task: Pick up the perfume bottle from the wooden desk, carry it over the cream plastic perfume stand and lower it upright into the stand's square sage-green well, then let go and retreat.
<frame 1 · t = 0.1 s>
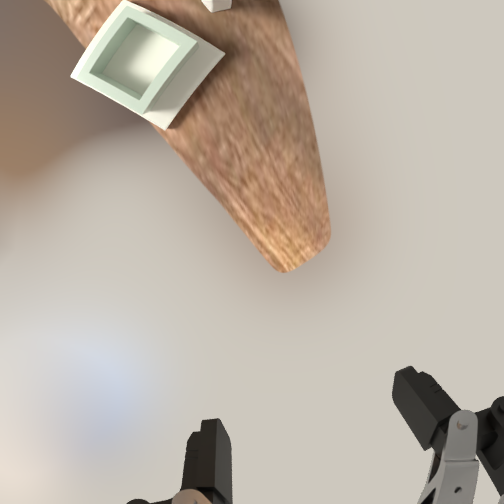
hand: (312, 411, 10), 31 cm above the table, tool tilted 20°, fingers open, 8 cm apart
perfume stand: (144, 61, 25), on the table
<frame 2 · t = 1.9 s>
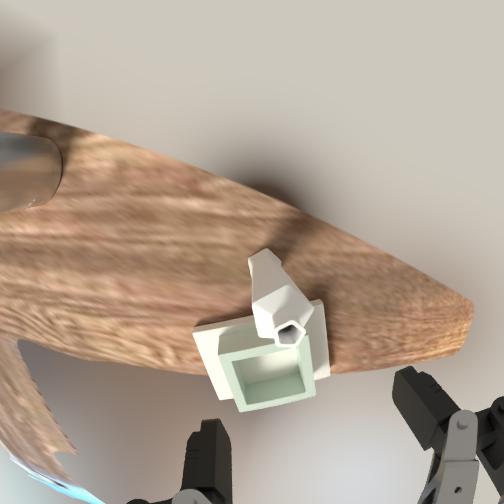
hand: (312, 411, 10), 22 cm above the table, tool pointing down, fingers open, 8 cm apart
perfume bottle: (262, 264, 31), on the table
perfume stand: (266, 352, 34), on the table
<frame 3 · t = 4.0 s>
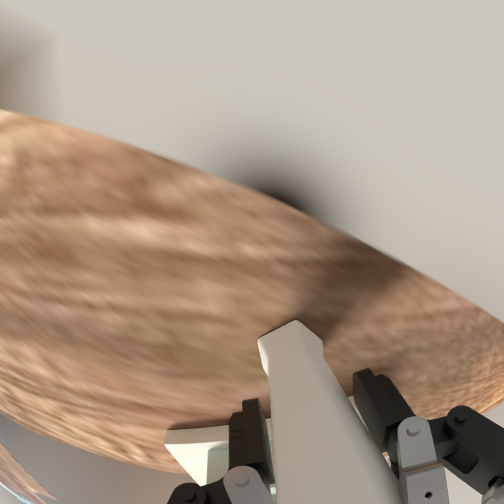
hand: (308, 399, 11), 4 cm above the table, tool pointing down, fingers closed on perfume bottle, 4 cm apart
perfume bottle: (285, 347, 15), on the table, touching gripper
perfume stand: (282, 455, 18), on the table
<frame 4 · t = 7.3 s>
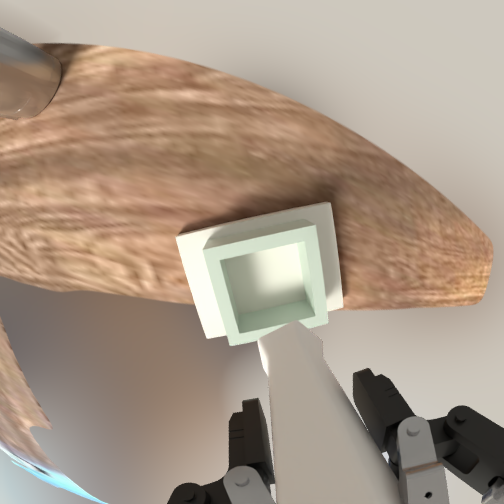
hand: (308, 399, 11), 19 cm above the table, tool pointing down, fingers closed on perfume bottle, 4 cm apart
perfume bottle: (285, 347, 15), point 15 cm above the table, touching gripper
perfume stand: (264, 270, 30), on the table
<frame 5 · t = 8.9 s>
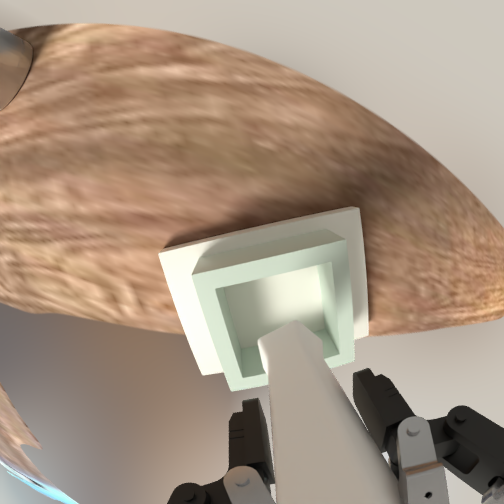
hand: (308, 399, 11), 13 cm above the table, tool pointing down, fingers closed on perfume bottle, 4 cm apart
perfume bottle: (285, 347, 15), point 8 cm above the table, touching gripper
perfume stand: (273, 294, 23), on the table
when the fingers open (7 cm above the table, at t = 10.6 s): perfume bottle drops 1 cm, resting on perfume stand.
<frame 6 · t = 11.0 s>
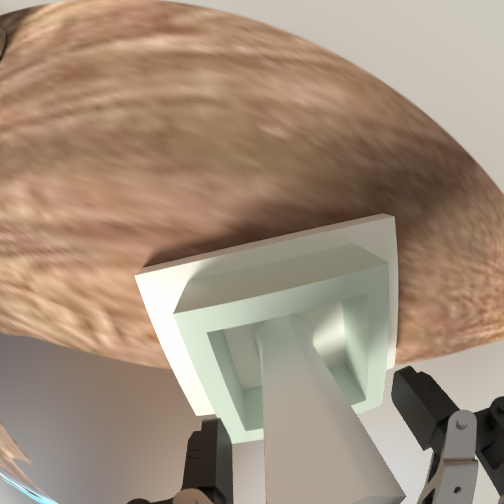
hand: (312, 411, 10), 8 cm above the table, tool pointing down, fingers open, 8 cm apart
perfume bottle: (278, 335, 17), point 1 cm above the table, touching perfume stand
perfume stand: (283, 324, 18), on the table
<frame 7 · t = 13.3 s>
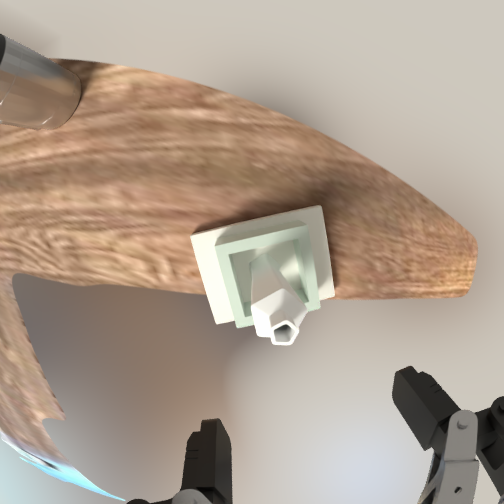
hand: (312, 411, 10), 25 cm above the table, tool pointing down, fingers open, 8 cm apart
perfume bottle: (262, 268, 33), point 1 cm above the table, touching perfume stand
perfume stand: (265, 264, 35), on the table
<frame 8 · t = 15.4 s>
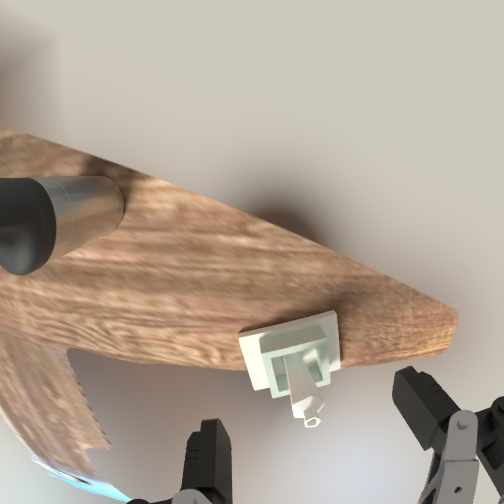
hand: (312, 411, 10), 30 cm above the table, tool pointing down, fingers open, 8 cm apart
perfume bottle: (290, 355, 43), point 1 cm above the table, touching perfume stand
perfume stand: (292, 351, 44), on the table
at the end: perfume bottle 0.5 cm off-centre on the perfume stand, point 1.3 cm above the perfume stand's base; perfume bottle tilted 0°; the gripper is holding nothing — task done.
